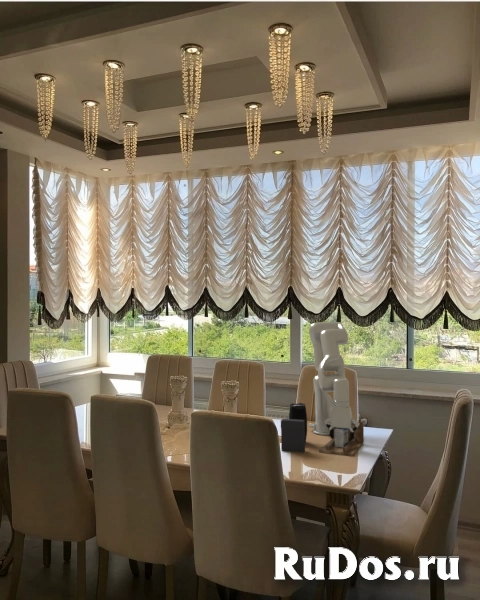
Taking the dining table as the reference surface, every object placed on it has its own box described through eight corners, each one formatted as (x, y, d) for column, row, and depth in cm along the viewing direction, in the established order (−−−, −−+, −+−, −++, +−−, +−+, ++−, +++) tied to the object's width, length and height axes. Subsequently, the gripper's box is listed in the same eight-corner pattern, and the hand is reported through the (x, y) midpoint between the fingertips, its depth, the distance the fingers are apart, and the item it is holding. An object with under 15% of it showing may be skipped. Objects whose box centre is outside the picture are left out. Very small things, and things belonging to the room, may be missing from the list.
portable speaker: (304, 445, 264) (303, 406, 264) (286, 443, 268) (286, 405, 268) (309, 441, 272) (308, 403, 272) (292, 439, 276) (291, 402, 276)
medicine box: (343, 448, 255) (343, 430, 255) (334, 447, 257) (334, 429, 257) (348, 444, 262) (348, 426, 262) (339, 443, 264) (339, 425, 264)
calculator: (305, 450, 256) (305, 419, 256) (303, 453, 252) (303, 421, 252) (283, 448, 259) (282, 418, 259) (281, 451, 255) (280, 420, 255)
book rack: (319, 452, 253) (318, 428, 253) (332, 440, 272) (332, 419, 272) (352, 456, 246) (352, 431, 246) (363, 444, 265) (363, 421, 265)
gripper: (321, 403, 259) (322, 438, 260) (357, 406, 252) (357, 442, 252) (326, 401, 266) (327, 435, 266) (360, 403, 259) (361, 438, 259)
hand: (341, 438), depth 259 cm, fingers open, 9 cm apart
